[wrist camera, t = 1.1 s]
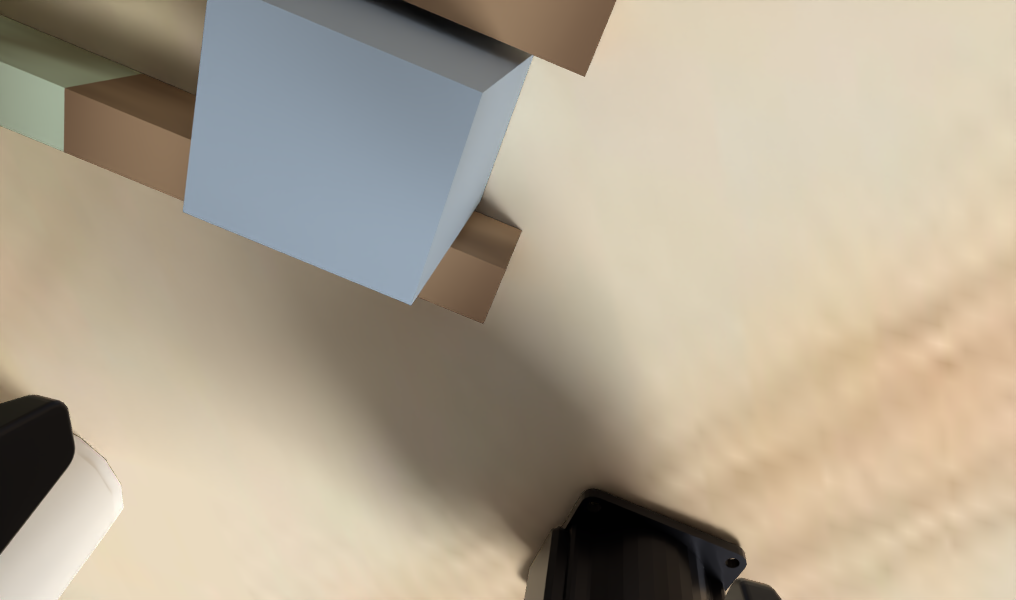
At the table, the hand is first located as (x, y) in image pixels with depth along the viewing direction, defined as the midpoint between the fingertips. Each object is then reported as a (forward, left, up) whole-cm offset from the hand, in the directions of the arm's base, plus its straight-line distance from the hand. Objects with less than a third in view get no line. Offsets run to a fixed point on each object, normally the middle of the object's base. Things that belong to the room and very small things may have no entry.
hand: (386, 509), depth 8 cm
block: (+4, -2, -12) cm, 13 cm away
